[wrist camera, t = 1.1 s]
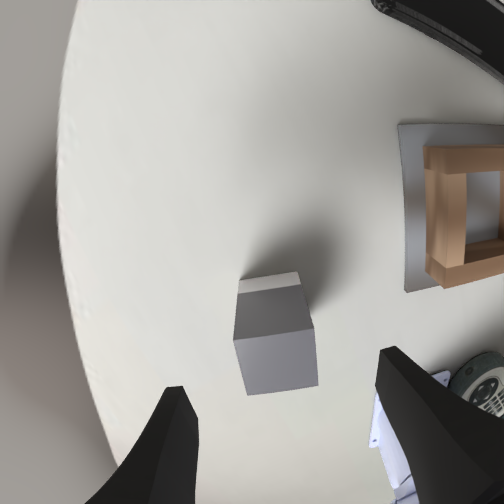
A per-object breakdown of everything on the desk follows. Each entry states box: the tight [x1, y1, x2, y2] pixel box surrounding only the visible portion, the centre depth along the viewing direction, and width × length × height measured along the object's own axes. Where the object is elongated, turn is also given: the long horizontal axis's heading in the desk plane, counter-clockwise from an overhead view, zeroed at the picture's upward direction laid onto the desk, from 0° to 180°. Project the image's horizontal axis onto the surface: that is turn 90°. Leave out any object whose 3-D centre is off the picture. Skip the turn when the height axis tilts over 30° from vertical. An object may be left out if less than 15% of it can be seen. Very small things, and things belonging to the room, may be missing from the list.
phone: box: [371, 0, 504, 84], centre depth 15 cm, size 8×1×15 cm
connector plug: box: [233, 271, 318, 396], centre depth 19 cm, size 4×4×7 cm
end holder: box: [398, 124, 504, 293], centre depth 18 cm, size 12×12×4 cm
